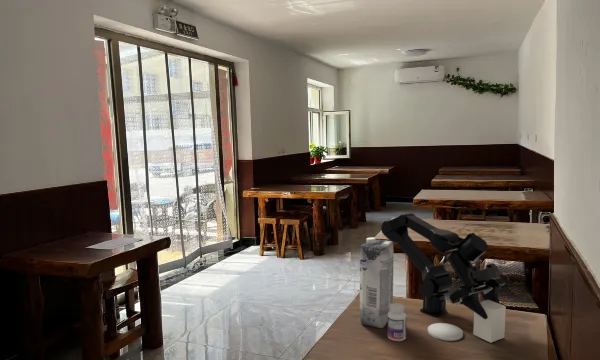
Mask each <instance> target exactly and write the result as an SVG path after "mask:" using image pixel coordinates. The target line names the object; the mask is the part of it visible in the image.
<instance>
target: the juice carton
mask: <svg viewBox="0 0 600 360" xmlns="http://www.w3.org/2000/svg"><path fill="white" fill-rule="evenodd" d="M359 253H360V254H359V317H360V318H359V319H360V323H361V325H365V326H370V327H373V328H374V327H375V328H379V329H383V328H385V326H386V324H388V313H389V312H390V305H391V304H393V303H394V261H395V260H394V242H393V241H391V240H384V239H377V238H376V237H372V236H371V237H367V238H366V241H365V243H363V244H361V245H360V252H359Z"/></svg>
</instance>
